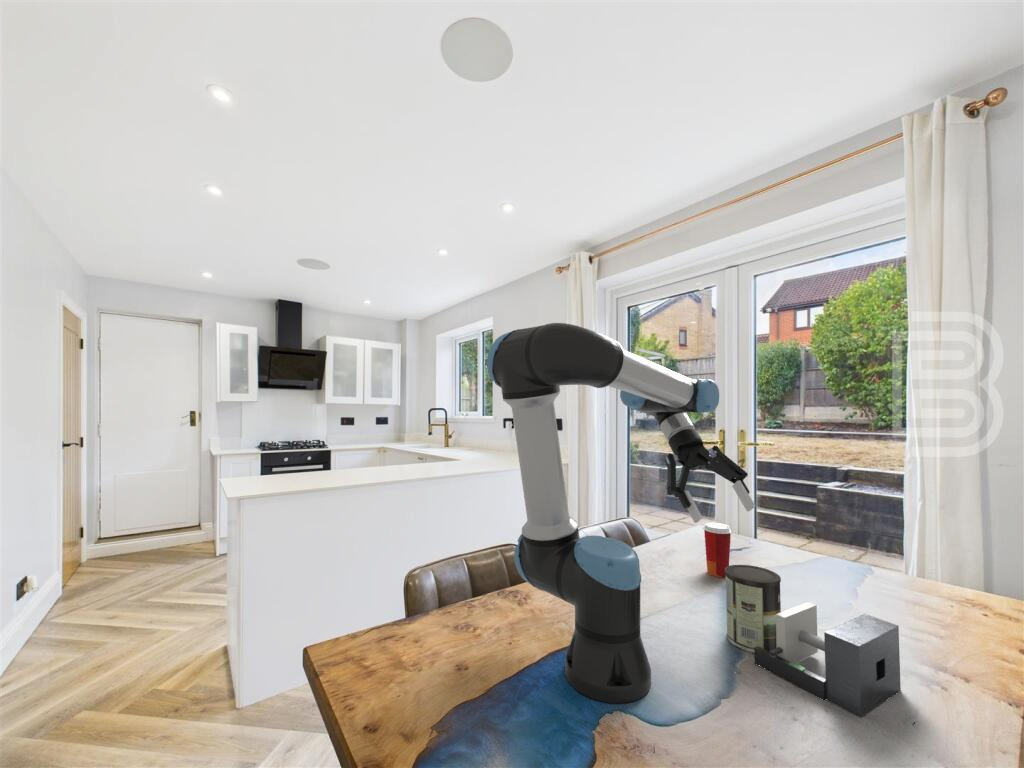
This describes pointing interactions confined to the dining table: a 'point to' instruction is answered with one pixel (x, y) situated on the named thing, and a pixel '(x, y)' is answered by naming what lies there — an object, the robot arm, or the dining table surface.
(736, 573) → the coffee can
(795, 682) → the frame
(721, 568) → the paper cup
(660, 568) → the dining table surface
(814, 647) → the pressure pad
